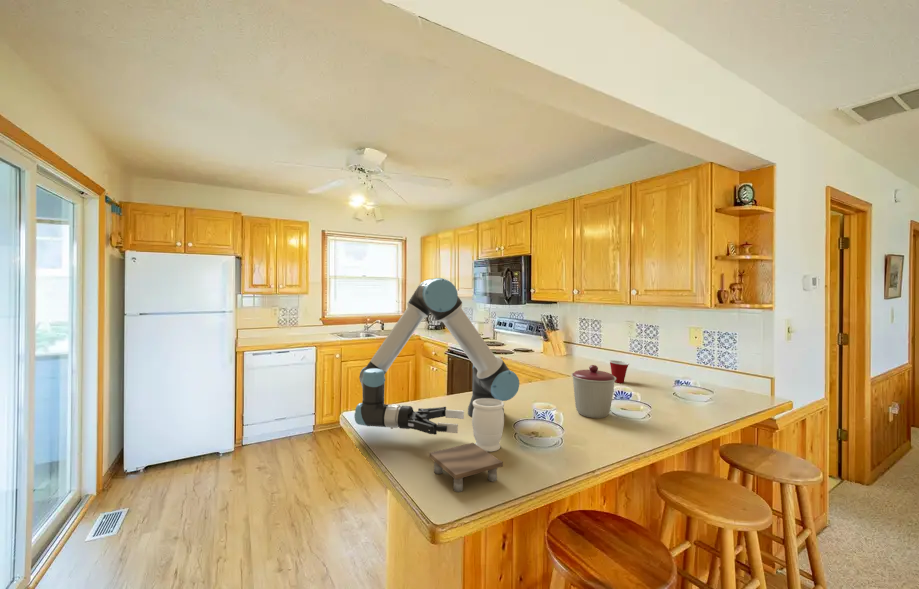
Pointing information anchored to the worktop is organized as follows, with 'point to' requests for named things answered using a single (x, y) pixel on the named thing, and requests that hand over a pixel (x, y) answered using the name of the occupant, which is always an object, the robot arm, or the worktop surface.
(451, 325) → the robot arm
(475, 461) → the wooden trivet stand
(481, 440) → the jar
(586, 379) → the canister
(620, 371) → the plastic cup
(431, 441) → the worktop surface
